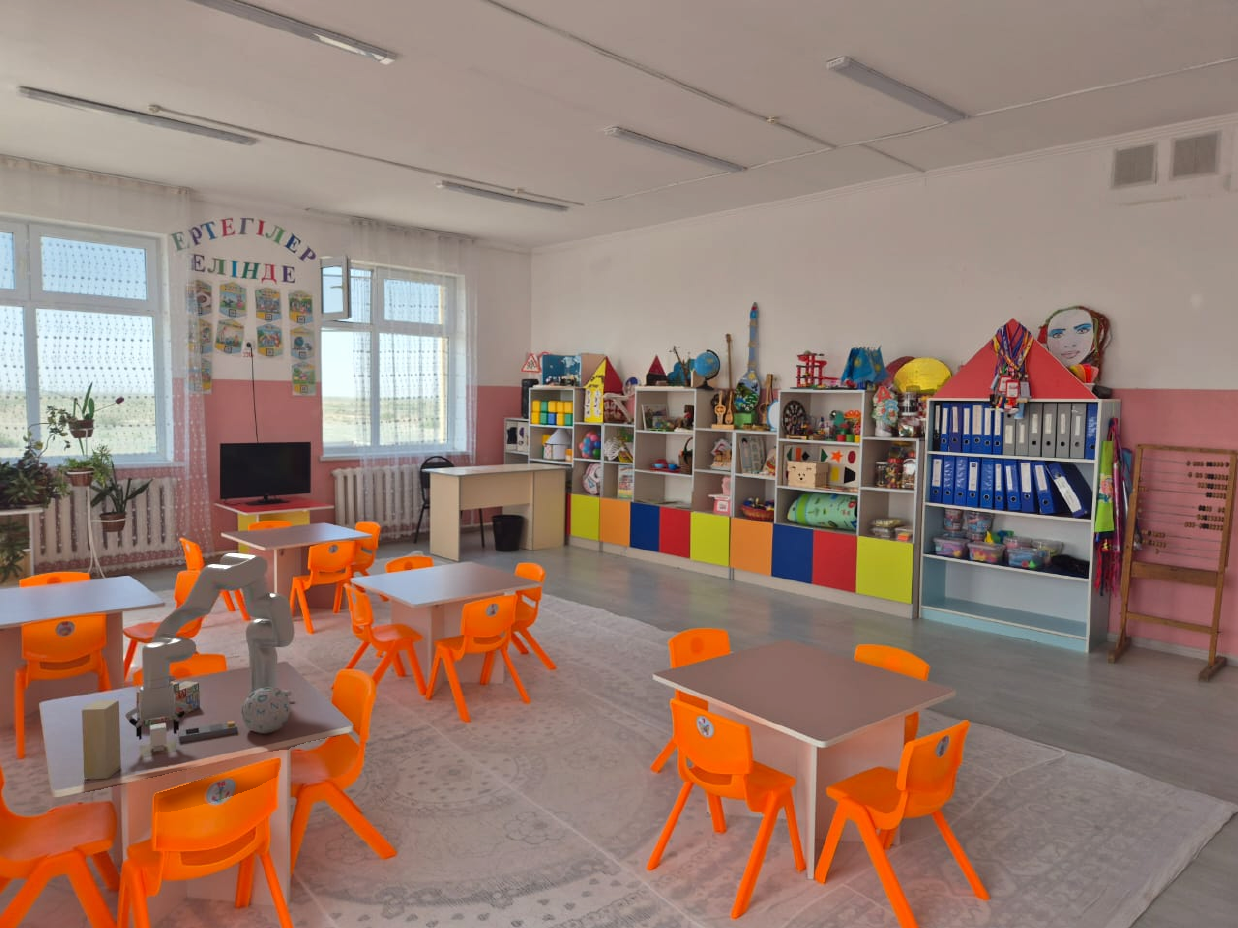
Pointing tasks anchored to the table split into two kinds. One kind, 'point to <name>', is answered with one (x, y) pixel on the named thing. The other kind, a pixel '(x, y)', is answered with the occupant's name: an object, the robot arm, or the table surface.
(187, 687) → the stack of blocks
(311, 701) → the table surface
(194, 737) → the power strip
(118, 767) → the tall wooden block
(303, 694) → the table surface
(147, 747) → the pad
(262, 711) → the puzzle ball
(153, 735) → the block
